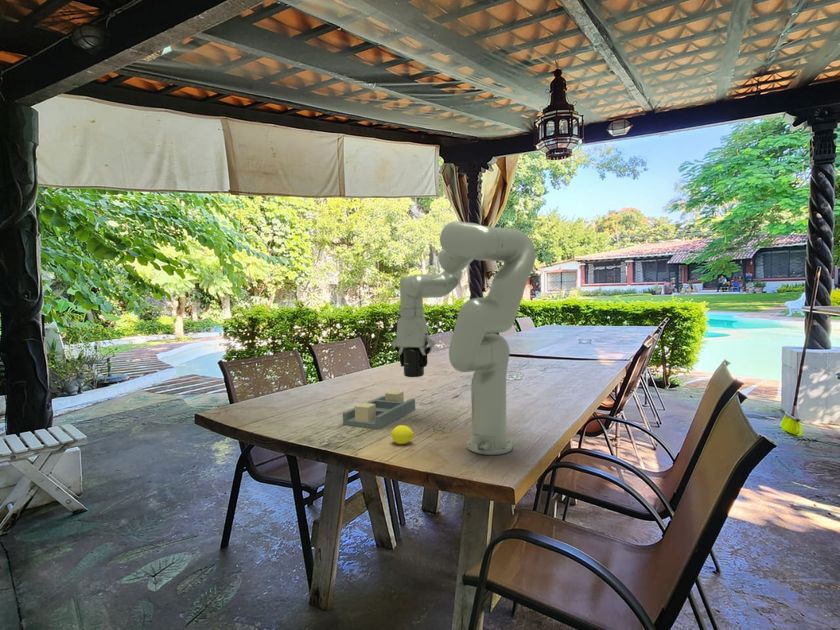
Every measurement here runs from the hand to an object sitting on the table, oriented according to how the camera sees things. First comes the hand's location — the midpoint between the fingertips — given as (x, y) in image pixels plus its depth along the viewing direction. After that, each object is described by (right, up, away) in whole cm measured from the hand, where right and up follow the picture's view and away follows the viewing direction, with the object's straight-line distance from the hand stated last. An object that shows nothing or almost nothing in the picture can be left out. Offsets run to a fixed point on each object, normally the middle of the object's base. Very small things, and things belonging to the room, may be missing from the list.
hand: (413, 365), depth 150 cm
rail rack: (-12, -19, +7) cm, 23 cm away
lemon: (-3, -20, -22) cm, 30 cm away
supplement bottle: (0, -4, 0) cm, 4 cm away
